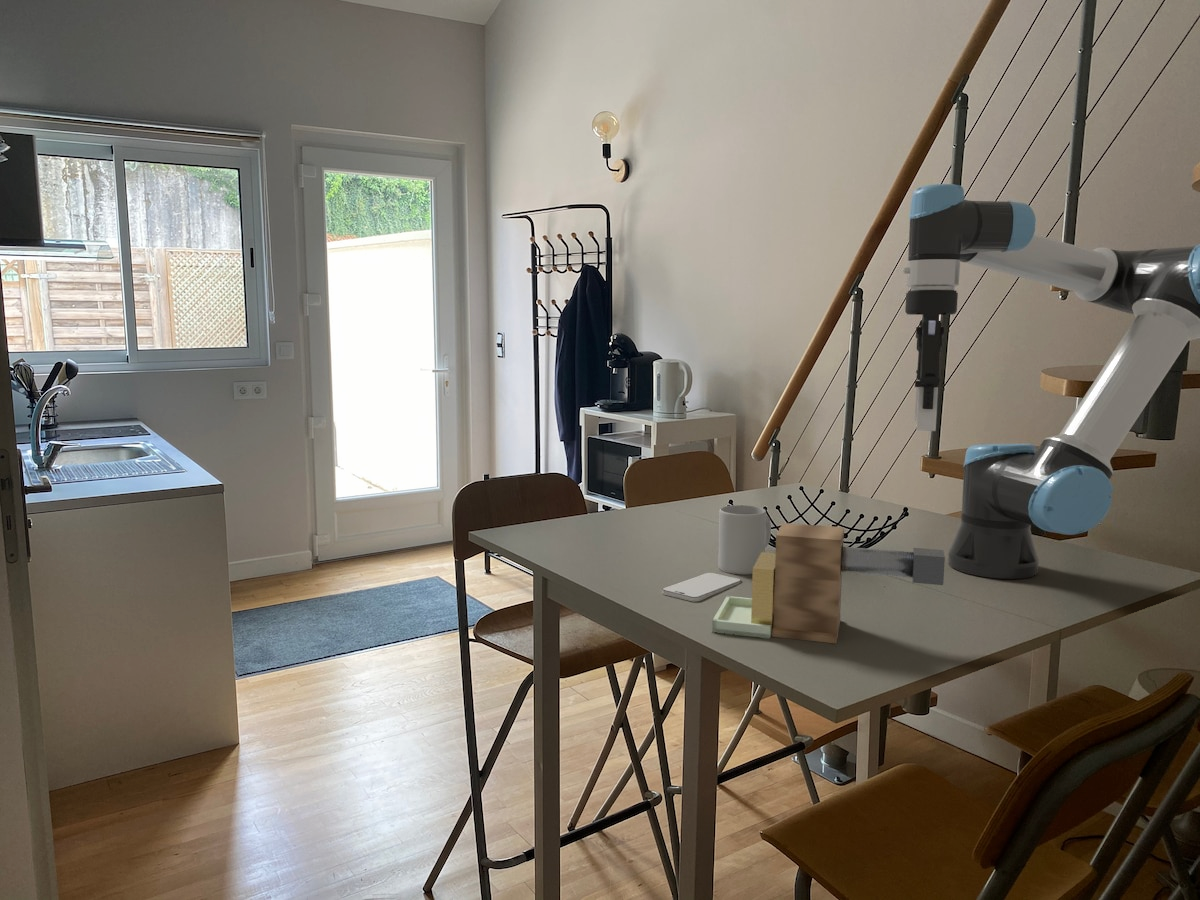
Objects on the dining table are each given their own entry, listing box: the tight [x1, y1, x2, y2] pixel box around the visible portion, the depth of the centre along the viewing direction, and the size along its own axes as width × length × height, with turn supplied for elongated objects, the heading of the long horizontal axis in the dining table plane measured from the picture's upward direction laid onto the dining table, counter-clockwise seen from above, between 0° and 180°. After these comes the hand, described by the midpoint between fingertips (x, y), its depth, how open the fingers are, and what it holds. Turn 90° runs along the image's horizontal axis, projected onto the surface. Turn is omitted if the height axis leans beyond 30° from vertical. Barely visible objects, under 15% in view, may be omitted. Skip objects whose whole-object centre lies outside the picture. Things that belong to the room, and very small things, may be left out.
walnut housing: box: [771, 522, 845, 644], centre depth 130 cm, size 9×10×15 cm
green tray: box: [711, 595, 772, 639], centre depth 134 cm, size 8×12×2 cm
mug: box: [717, 504, 772, 576], centre depth 162 cm, size 12×8×11 cm
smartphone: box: [661, 572, 742, 603], centre depth 151 cm, size 7×1×15 cm
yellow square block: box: [751, 551, 776, 631], centre depth 132 cm, size 3×9×9 cm, turn 162°
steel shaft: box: [840, 546, 946, 586], centre depth 127 cm, size 20×4×4 cm, turn 72°
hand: (924, 425), depth 140 cm, fingers open, 13 cm apart
